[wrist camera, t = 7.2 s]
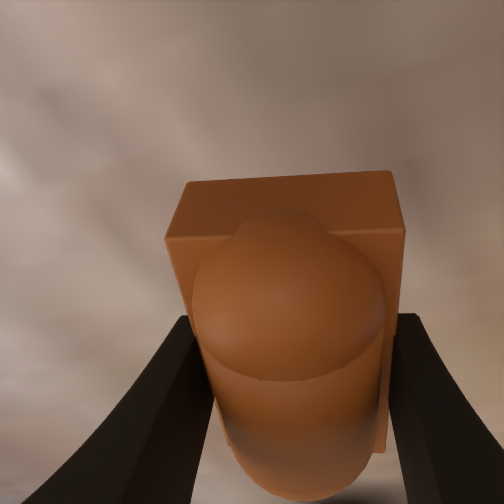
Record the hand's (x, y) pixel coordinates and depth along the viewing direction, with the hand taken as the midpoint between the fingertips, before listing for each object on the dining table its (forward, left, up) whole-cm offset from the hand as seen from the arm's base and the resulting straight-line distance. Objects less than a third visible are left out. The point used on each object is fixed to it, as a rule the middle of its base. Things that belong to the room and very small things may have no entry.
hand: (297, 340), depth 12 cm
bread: (0, 0, -1) cm, 1 cm away
